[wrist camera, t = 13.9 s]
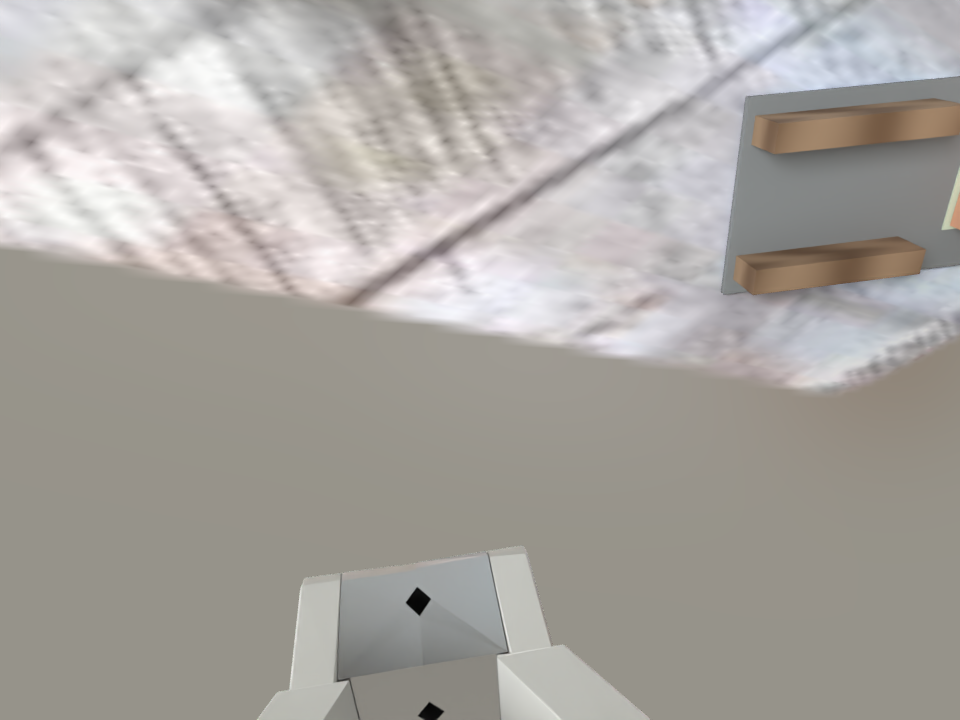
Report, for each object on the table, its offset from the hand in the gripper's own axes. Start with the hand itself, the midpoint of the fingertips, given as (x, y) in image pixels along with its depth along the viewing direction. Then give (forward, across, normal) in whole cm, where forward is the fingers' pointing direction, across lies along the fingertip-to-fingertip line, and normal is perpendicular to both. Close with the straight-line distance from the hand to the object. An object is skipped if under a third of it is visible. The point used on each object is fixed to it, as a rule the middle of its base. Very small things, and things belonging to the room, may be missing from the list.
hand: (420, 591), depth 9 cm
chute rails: (+31, -27, +6) cm, 41 cm away
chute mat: (+31, -31, +6) cm, 44 cm away
